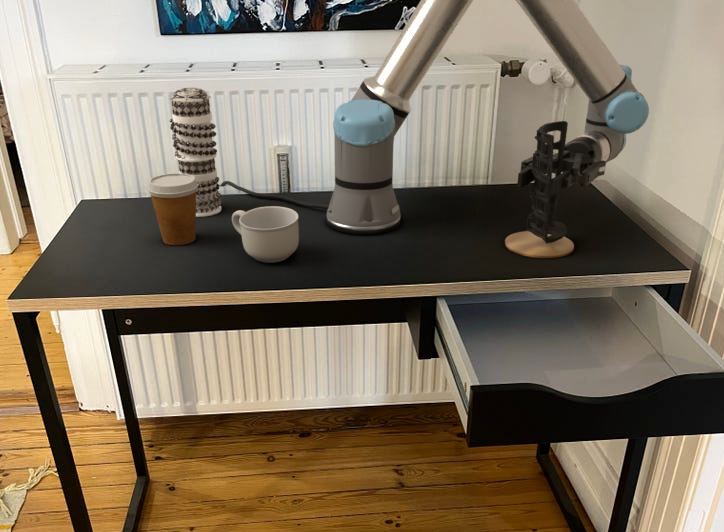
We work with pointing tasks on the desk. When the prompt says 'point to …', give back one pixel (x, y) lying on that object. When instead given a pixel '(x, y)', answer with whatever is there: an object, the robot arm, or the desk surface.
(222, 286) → the desk surface
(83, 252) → the desk surface
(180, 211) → the disposable coffee cup
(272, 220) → the teacup
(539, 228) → the holder
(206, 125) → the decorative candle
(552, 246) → the cork mat
